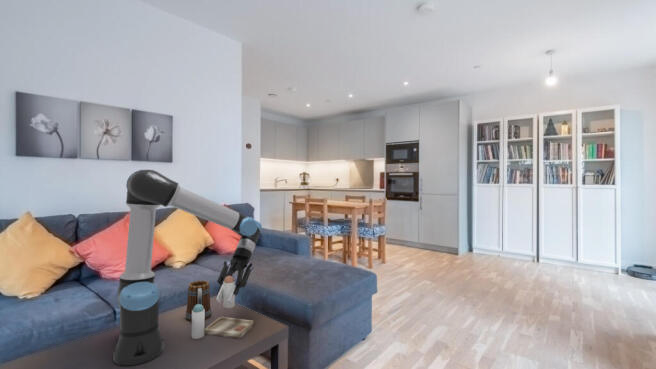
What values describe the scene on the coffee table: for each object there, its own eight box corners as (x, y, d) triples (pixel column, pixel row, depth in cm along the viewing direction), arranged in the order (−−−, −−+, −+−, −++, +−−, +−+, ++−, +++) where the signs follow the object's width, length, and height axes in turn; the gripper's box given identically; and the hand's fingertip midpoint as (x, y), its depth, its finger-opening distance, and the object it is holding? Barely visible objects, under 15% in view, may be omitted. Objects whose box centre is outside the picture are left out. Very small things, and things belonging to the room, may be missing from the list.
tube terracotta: (220, 307, 127) (220, 277, 127) (227, 303, 131) (227, 273, 131) (231, 308, 126) (231, 278, 126) (236, 304, 130) (237, 274, 130)
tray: (203, 333, 124) (203, 329, 124) (220, 320, 136) (220, 316, 136) (240, 338, 121) (240, 334, 121) (254, 324, 132) (254, 320, 132)
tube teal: (189, 338, 121) (189, 306, 121) (196, 332, 125) (196, 301, 125) (199, 339, 120) (199, 307, 120) (206, 333, 124) (207, 302, 124)
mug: (185, 313, 142) (185, 281, 142) (210, 310, 147) (210, 278, 146) (185, 329, 128) (186, 292, 128) (213, 324, 132) (213, 289, 132)
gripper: (264, 257, 141) (247, 307, 126) (229, 254, 145) (208, 303, 130) (259, 247, 136) (240, 299, 120) (223, 245, 140) (200, 295, 124)
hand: (224, 301), depth 125 cm, fingers closed on tube terracotta, 5 cm apart
